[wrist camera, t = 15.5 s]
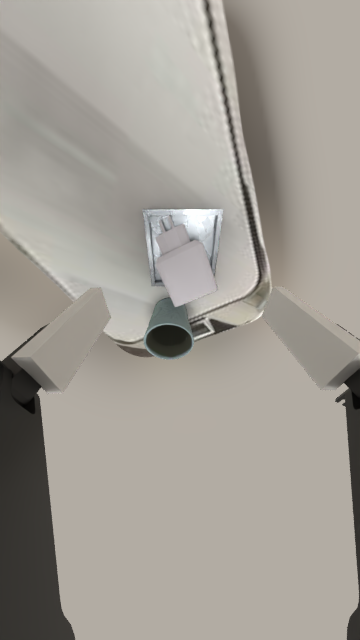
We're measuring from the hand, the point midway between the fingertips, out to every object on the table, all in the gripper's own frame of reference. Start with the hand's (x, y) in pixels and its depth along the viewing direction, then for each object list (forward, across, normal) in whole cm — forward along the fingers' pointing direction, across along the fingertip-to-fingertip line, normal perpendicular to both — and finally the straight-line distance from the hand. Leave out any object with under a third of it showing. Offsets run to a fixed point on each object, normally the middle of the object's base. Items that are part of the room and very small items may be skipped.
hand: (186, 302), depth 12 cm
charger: (+22, 0, -2) cm, 22 cm away
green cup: (+23, -3, -16) cm, 28 cm away
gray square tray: (+23, 0, -1) cm, 23 cm away
